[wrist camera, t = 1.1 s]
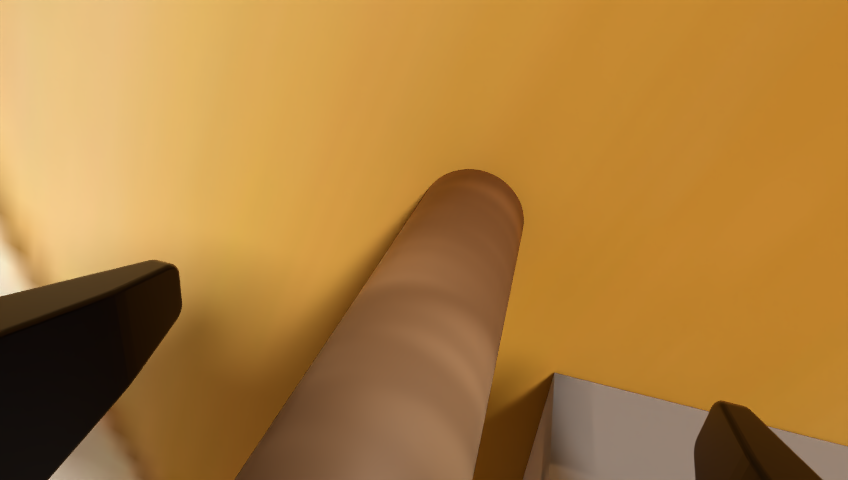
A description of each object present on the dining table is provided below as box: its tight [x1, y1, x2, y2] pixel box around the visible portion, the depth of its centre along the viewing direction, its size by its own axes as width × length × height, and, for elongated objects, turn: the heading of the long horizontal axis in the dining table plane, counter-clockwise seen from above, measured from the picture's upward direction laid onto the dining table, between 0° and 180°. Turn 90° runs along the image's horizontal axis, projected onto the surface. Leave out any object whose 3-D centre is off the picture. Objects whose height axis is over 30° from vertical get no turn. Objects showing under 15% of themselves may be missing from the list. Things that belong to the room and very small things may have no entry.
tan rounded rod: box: [235, 169, 524, 480], centre depth 9 cm, size 3×3×11 cm
